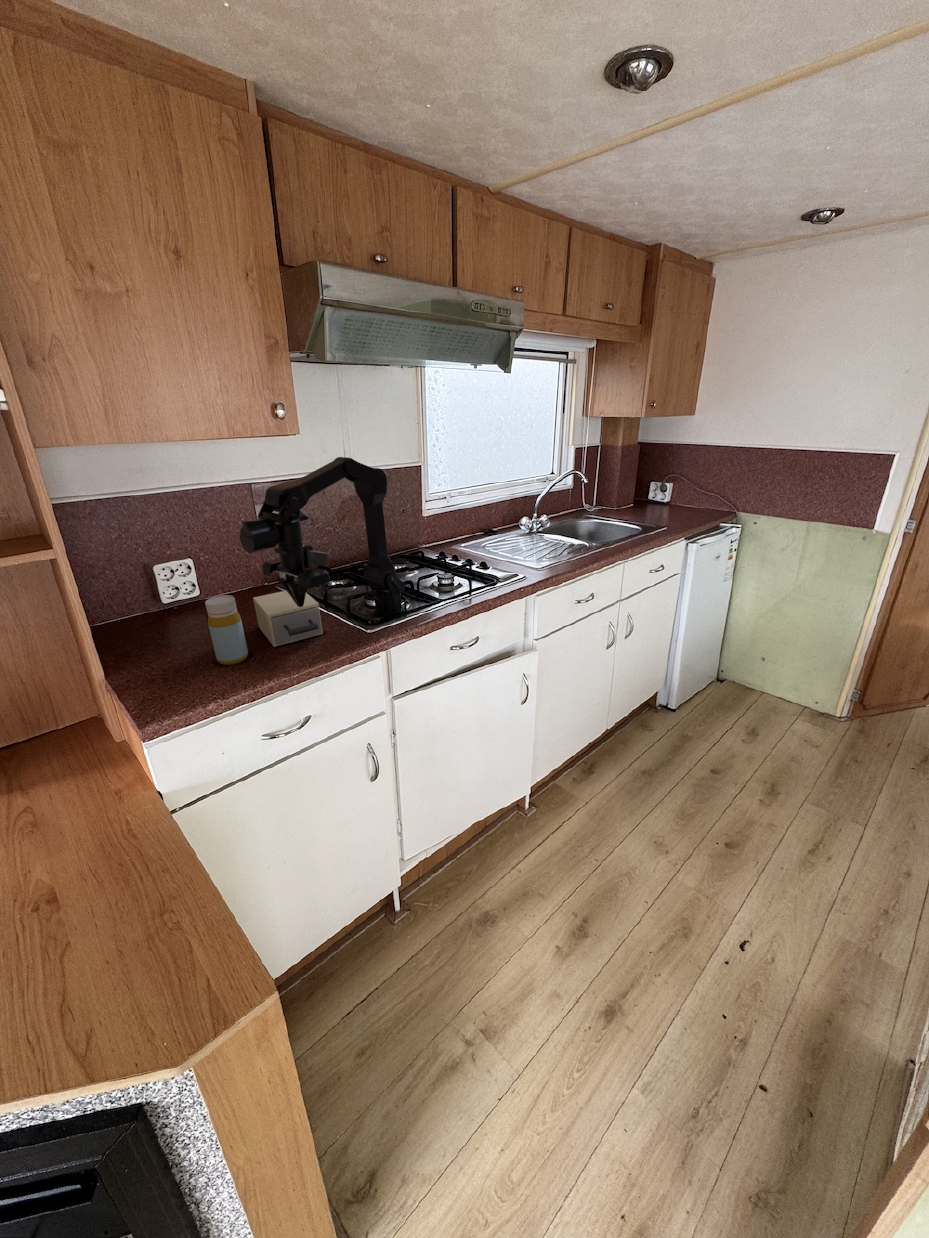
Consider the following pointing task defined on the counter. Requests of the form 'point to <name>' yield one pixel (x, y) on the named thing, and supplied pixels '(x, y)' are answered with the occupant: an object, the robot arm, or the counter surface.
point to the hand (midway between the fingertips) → (300, 606)
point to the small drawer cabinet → (279, 611)
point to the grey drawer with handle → (296, 625)
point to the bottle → (226, 630)
